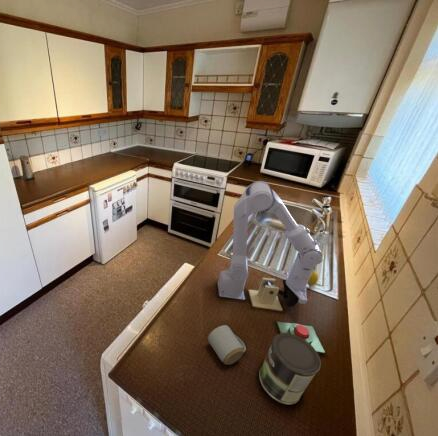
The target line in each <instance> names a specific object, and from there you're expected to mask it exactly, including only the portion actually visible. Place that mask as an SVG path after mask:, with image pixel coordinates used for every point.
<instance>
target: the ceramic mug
mask: <svg viewBox="0 0 438 436" xmlns="http://www.w3.org/2000/svg"><path fill="white" fill-rule="evenodd" d="M207 342H208V343H209V344H210V346H211V348H213V351H214V352H215V353H216V355H217V357H218V359H219V360H220V361H221V362H222V363H223V364H224V365H227V366H229V365H230V366H231V365H233V364H234V363H236V362H238V361H239V360H240V359H241V358H242V357H243V356H244V354H245V352H246V350H247V347H246V345H245V343H244V341H243V340H242V339H241V338H240V337H238V336H237V335H235V334H234V332H233V331H232V329H231V327H230V326H228V325H226V324H224V325H219V326H218V327H216V328H214V329H213V330H212V331H211V332H210V333H209V335H208V336H207Z"/></svg>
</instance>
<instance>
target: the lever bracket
mask: <svg viewBox="0 0 438 436" xmlns="http://www.w3.org/2000/svg"><path fill="white" fill-rule="evenodd" d="M267 281H269V282H271V283H273V284H274V286H267V285H265V287H264V286H263V284H265V283H266V282H267ZM276 281H277V280H276V278H271V277H261V279H260V284H259V287H258V289H257V290H256V289H248V294H249V299H250V302H251V306H252V308H256V309H263V310H264V309H265V310H271V311H278V312H283V307H282V305H281V302H280V299H279V297H278V291H279V290H280V287H279V286H276V285H275V284H276Z"/></svg>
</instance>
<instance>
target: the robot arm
mask: <svg viewBox="0 0 438 436" xmlns="http://www.w3.org/2000/svg"><path fill="white" fill-rule="evenodd" d="M263 211H265V213H269V214H274V215H275V216H276V218H277V219H278V220H279V222H280V223H281V224H282V225H283V227H284V228H285V232H284V235H285V237H286V238H287V240H288V241H289V243H290V244H291V246H293V248H294V250H295V251H297V252H298V253H297V254H296V257H295V259H294V262H293V264H292V266H291V269H285V271H284V275H285V279H282V280H281V281H282V285H283V292H284V293H286V294H288V298H287V300H286V299H285V297H283V296H282V298H283V299H284V300H286V306H287V307H289V308H293V307H295V306H296V304H298V303H299V304H301V305H306V304H307V303H308V298H307V289H310V286H309V285H308V284H307V283H308V281H309V279H310V276H311V274H312V272H313V270H314V271H315V268H316V266H317V265H320V264H321V263H322V262H323V261H324V260H323V253H322V251H321V249H320V247H319V245H318V242H317V240H316V239H313V237H312V236H311V234H310V233H311V231H310V229H309V227H305V226H304V225H302V224H301V223H297V222H296V220H295V219H294V218H293V216H292V215H291V213H290V211H289V210H288V208H287V207H286V205H285V204H284V202H283V200H282V199H281V197H280V196H279V195H278V194H277V193H276V192H275V191H274V189H271V187H270V185H269V183H267V182H266V181H263V180H257V181H254V182H252V183H251V184H249V185H248V186H247V187H246V188H245V190H244V191H243V193H242V194H241V196H240V197H239V198H238V199H237V201H236V202H235V204H234V205H233V227H232V228H233V229H232V230H233V232H232V254H231V255H230V258H229V263H230V264H229V267H228V268H227V269H224V270H220V272H219V276H218V280H217V289H218V296H219V297H221V298H229V299H235V300H236V299H238V300H243V301H245V300H246V296H245V292H244V289H245V286H246V282H247V279H248V278H249V276H250V275H249V264H248V263H249V258H248V256H247V249H248V231H249V230H248V228H249V216H251V215H252V214H256V213H260V212H263Z"/></svg>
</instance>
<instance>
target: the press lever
mask: <svg viewBox="0 0 438 436" xmlns="http://www.w3.org/2000/svg"><path fill="white" fill-rule="evenodd" d="M265 285H267V286H275V284H273V283H271V282H269V281H267V282H266V283H265V284H263V286H264V287H265ZM278 294H279V295H280V296H282V298H283V297H285V299H284V300H286V301H287V298H288V294H286V293H284V291H282V290H280V289H279V291H278ZM278 294H277V295H278Z"/></svg>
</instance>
